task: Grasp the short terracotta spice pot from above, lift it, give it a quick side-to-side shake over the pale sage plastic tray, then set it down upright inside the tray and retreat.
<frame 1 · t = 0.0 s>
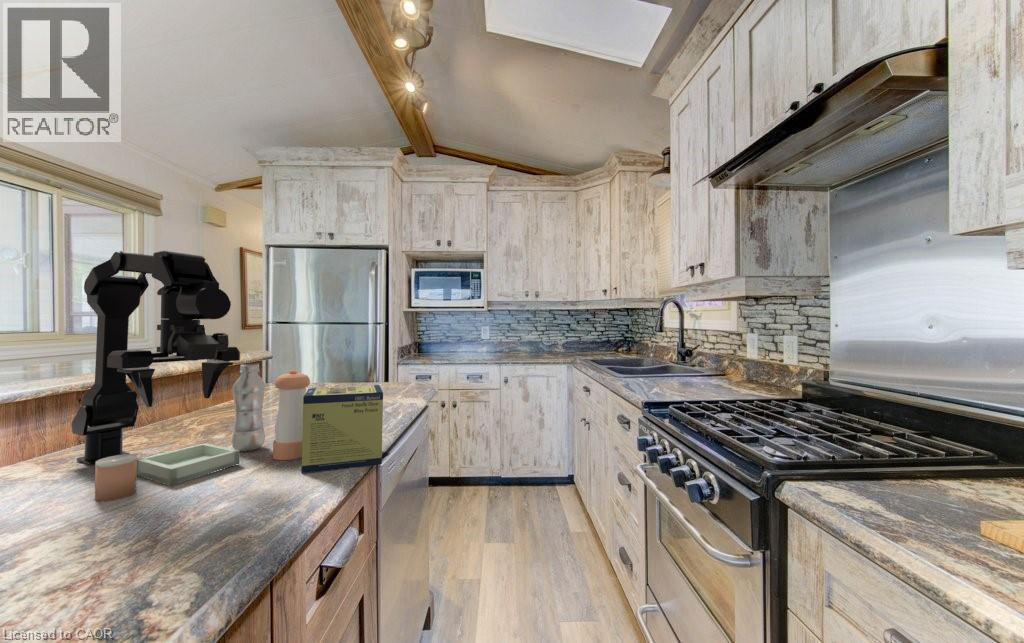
hand: (179, 402, 74), 15 cm above the counter, tool pointing down, fingers open, 9 cm apart
pepper shaker: (291, 455, 89), on the counter
protein box: (343, 462, 86), on the counter
tray: (189, 469, 80), on the counter
spice pot: (115, 494, 68), on the counter
plastic bottle: (248, 450, 92), on the counter
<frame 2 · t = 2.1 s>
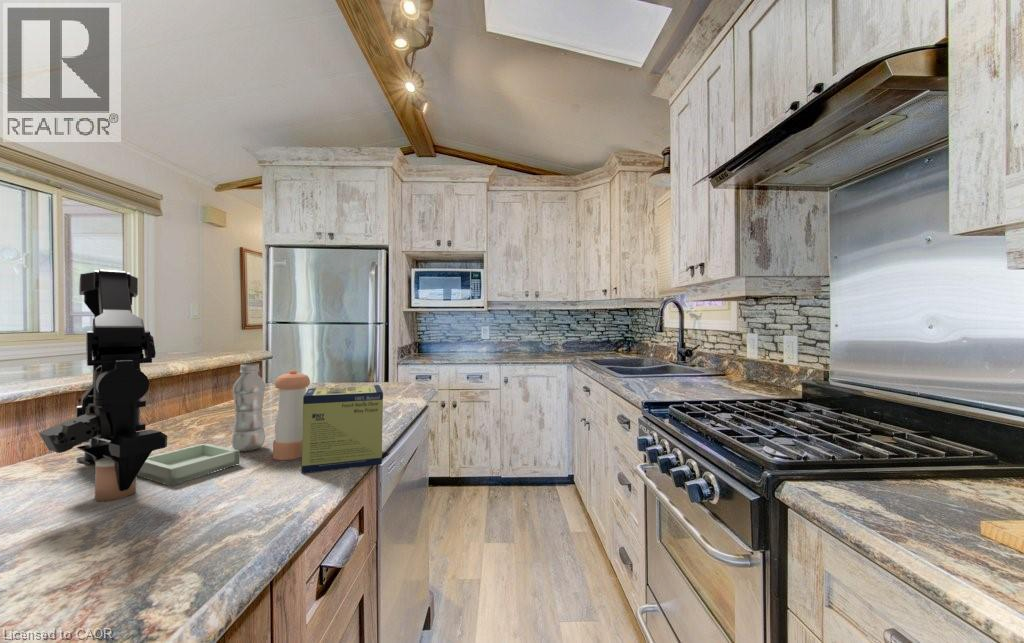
hand: (116, 487, 68), 1 cm above the counter, tool pointing down, fingers closed on spice pot, 5 cm apart
spice pot: (115, 494, 68), on the counter, touching gripper
everything else where it was.
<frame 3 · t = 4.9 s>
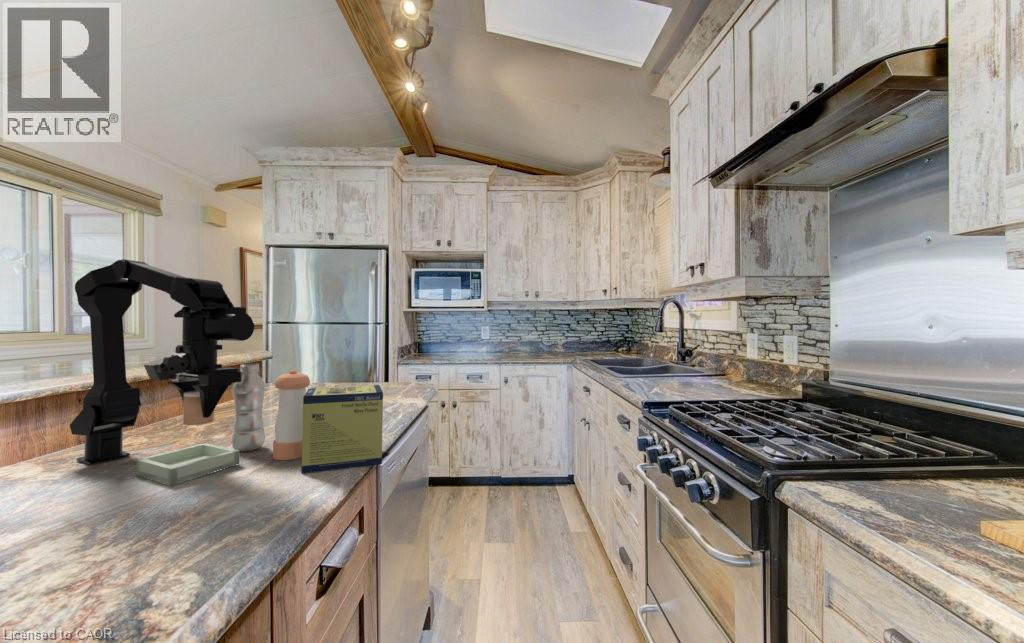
hand: (198, 416, 81), 11 cm above the counter, tool pointing down, fingers closed on spice pot, 5 cm apart
spice pot: (198, 422, 81), point 9 cm above the counter, touching gripper
everything else where it was.
when the fingers open (3 cm above the counter, at t = 7.6 s): spice pot stays where it is, resting on tray.
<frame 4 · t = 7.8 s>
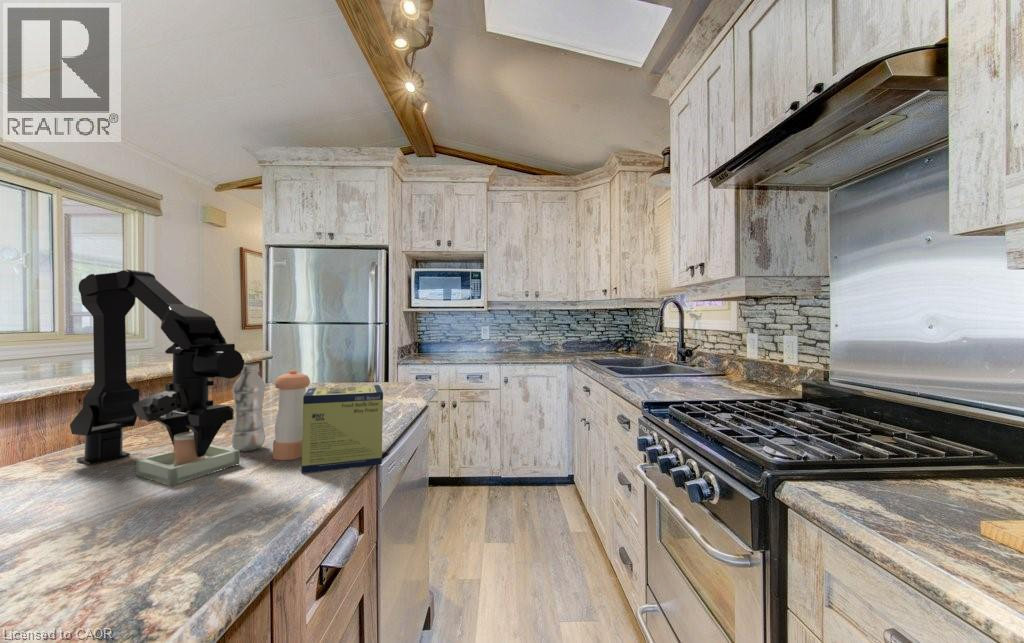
hand: (189, 453, 80), 3 cm above the counter, tool pointing down, fingers open, 7 cm apart
spice pot: (189, 464, 80), point 1 cm above the counter, touching tray
everything else where it was.
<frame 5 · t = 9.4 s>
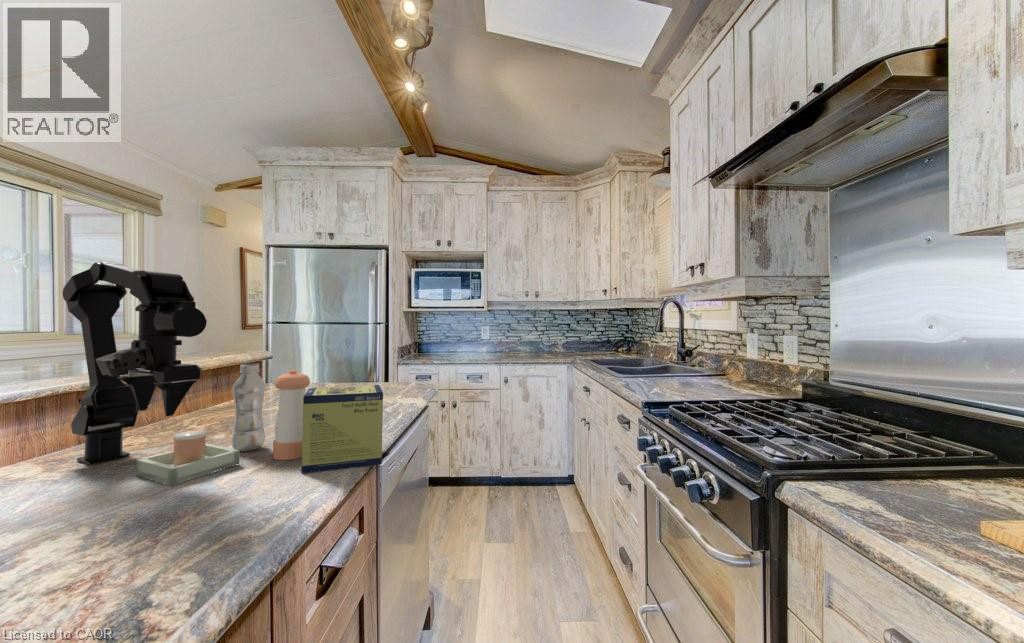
hand: (155, 413, 79), 12 cm above the counter, tool pointing down, fingers open, 9 cm apart
nothing on the counter moved.
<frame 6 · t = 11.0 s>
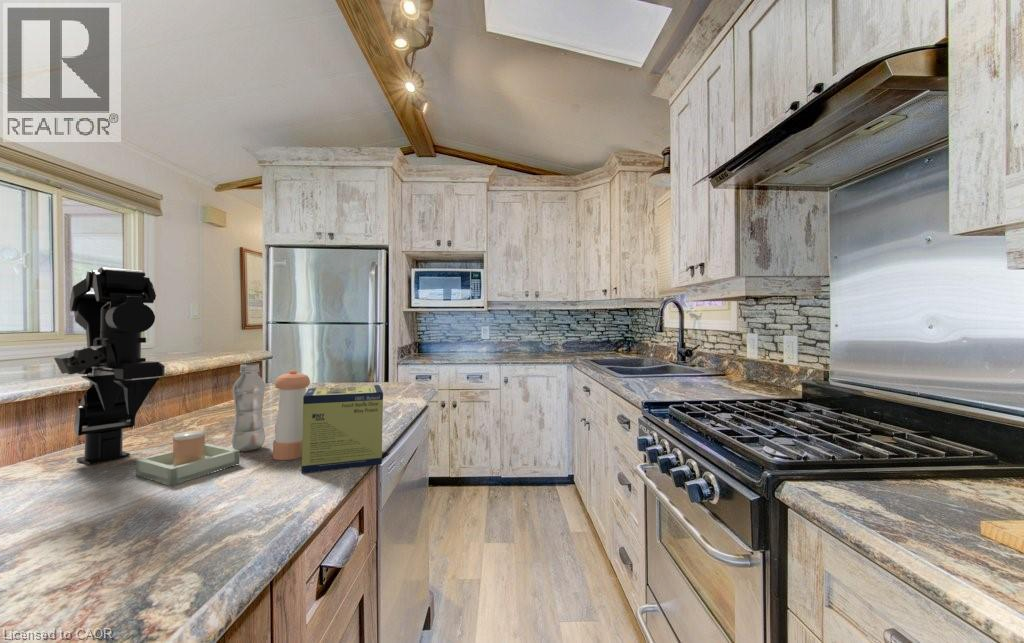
hand: (119, 412, 77), 12 cm above the counter, tool pointing down, fingers open, 9 cm apart
nothing on the counter moved.
at the end: spice pot 0.0 cm off-centre on the tray, point 1.1 cm above the tray's base; spice pot tilted 1°; the gripper is holding nothing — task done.
